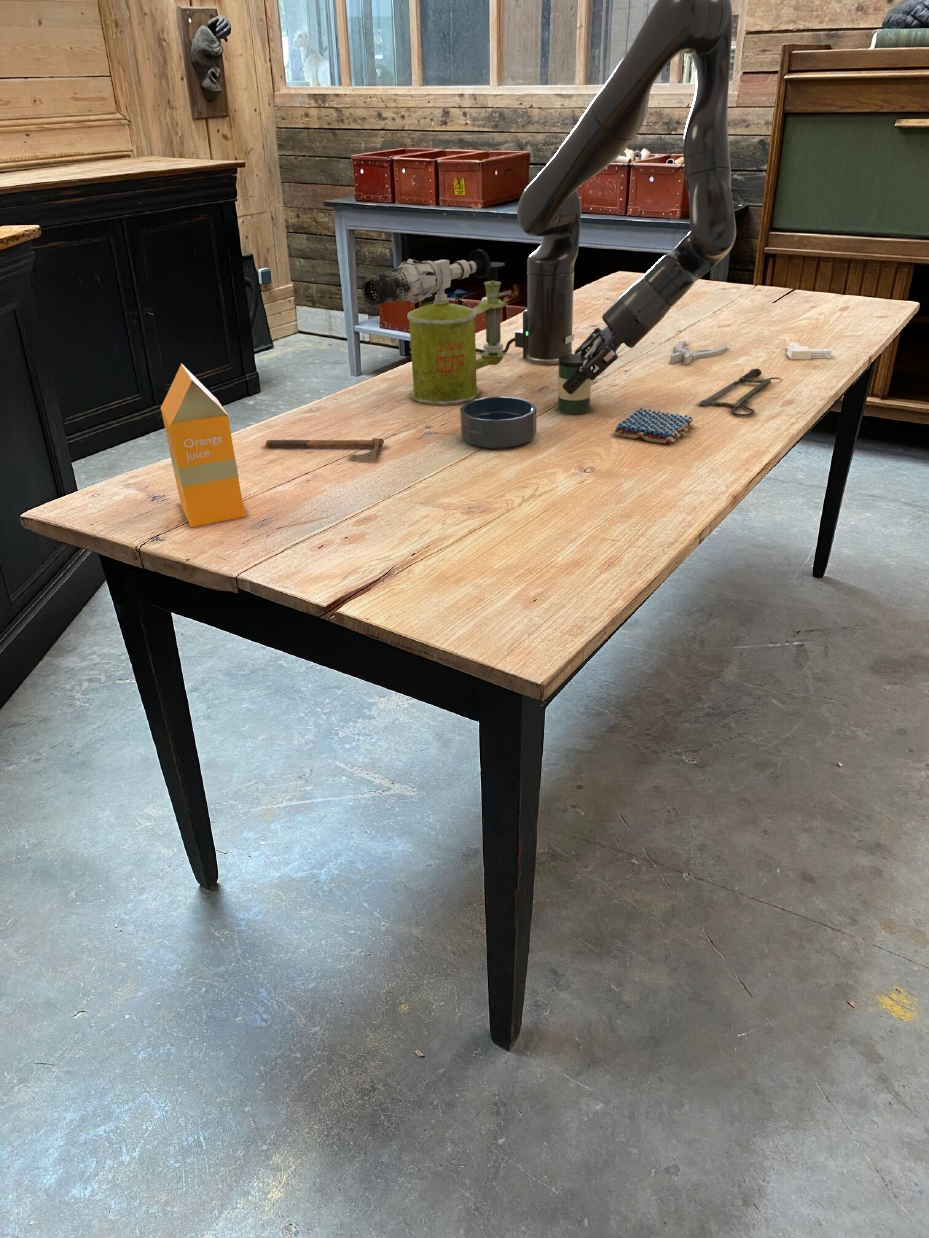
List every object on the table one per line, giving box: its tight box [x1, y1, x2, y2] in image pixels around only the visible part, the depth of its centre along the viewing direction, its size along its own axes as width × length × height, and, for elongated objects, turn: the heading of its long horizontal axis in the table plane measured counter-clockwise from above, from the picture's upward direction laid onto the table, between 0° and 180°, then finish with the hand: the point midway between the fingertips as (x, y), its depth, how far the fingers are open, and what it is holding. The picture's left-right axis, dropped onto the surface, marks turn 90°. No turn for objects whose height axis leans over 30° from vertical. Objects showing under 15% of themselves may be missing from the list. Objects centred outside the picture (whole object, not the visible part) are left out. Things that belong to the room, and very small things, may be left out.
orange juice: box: [160, 363, 246, 528], centre depth 128 cm, size 8×9×20 cm
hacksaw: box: [698, 367, 783, 417], centre depth 169 cm, size 24×10×2 cm, turn 141°
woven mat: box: [613, 407, 694, 444], centre depth 154 cm, size 10×11×2 cm
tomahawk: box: [265, 437, 385, 463], centre depth 151 cm, size 20×7×1 cm, turn 83°
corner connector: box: [786, 341, 832, 360], centre depth 190 cm, size 8×8×2 cm
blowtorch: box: [361, 248, 508, 406], centre depth 169 cm, size 13×33×25 cm, turn 137°
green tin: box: [557, 353, 592, 415], centre depth 163 cm, size 6×6×9 cm
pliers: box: [669, 339, 728, 366], centre depth 192 cm, size 10×2×15 cm
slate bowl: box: [459, 395, 538, 449], centre depth 153 cm, size 12×12×5 cm
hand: (564, 385), depth 163 cm, fingers closed on green tin, 5 cm apart
